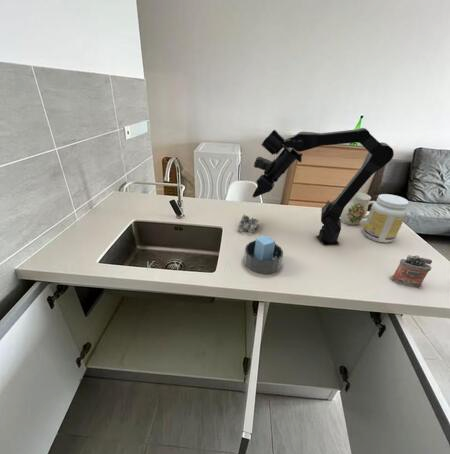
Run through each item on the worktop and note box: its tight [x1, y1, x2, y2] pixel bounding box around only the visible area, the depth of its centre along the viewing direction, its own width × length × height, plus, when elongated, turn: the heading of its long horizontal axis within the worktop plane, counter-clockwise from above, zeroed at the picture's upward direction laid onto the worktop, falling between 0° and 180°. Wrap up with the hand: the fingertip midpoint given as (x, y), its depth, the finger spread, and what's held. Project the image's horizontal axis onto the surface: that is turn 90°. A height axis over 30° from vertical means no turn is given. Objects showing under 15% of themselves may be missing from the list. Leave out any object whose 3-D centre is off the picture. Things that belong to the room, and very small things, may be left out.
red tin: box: [390, 254, 433, 289], centre depth 75 cm, size 8×3×10 cm, turn 69°
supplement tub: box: [362, 193, 410, 243], centre depth 99 cm, size 12×12×17 cm
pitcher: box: [339, 191, 376, 226], centre depth 110 cm, size 11×18×14 cm, turn 82°
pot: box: [243, 240, 284, 275], centre depth 81 cm, size 12×12×6 cm
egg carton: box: [238, 213, 260, 234], centre depth 103 cm, size 11×8×4 cm
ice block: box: [254, 234, 276, 261], centre depth 80 cm, size 4×4×9 cm
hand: (256, 192), depth 99 cm, fingers open, 9 cm apart
